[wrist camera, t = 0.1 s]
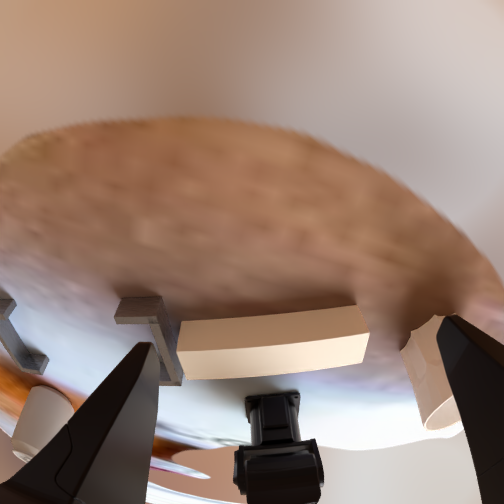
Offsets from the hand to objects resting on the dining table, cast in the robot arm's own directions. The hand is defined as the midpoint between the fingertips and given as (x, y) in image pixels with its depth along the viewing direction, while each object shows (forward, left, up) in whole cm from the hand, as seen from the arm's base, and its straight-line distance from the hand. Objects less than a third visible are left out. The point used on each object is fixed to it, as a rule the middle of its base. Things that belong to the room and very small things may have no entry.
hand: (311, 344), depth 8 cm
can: (-28, +32, -15) cm, 45 cm away
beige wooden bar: (-14, 0, -15) cm, 20 cm away
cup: (-19, -19, -15) cm, 31 cm away
